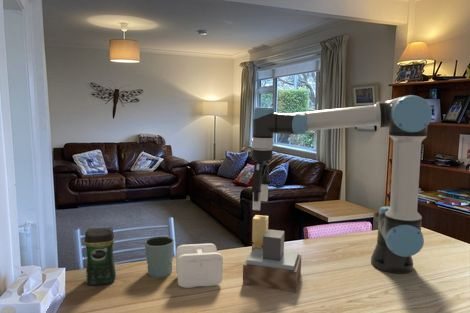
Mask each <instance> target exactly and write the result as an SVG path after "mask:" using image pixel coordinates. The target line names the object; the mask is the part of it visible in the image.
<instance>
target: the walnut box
mask: <svg viewBox="0 0 470 313" xmlns="http://www.w3.org/2000/svg"><path fill="white" fill-rule="evenodd" d="M253 244H254V242H252V244H251V252H252V251H253V249H254V248H253ZM262 247H263V246H262ZM251 252H250V254H251ZM250 254H249V255H247V256H248V257H249V256H250ZM248 257H247V258H246V259H245V261H244V263H243V265H242V285H243V286H252V287H256V288H262V289H264V288H265V289H269V290H270V289H271V290H277V291H286V292H291V293H296V292H297V289H298V286H299V281H300V278H301V277H300V276H301V273H302V272H301V271H302V254H298V259H297V262H296V265H295V268H294V270H287V269H280V268H272V267H265V266H257V265H250V264H247V259H248Z"/></svg>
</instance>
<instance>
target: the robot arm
mask: <svg viewBox="0 0 470 313" xmlns="http://www.w3.org/2000/svg"><path fill="white" fill-rule="evenodd" d="M432 110H433V109H432V107H431V105H430V103H429V102H428V101H427V100H426V99H424V98H423V97H421V96H418V95H416V94H415V95H414V94H409V95H402V96H398V97H396V98H392V99H389V100H382V101H377V102H375V104H370V105H363V106H362V105H360V106H352V107H351V106H349V107H339V108H330V109H320V110H309V111H298V112H276V111H275V108H274V107H271V106H264V107H263V106H255V107H254V109H253V118H252V139H251V140H250V142H251V143H252V150H251V159H252V160H253V161H256V163H255V164H254V169H253V170H254V171H253V177H252V184H251V189H250V192H251V193H252V209H251V210H253V211H261V202H268V200H269V199H268V198H269V186H270V185H271V181H270V167H269V163H270V161H272V160H273V152H274V151H273V150H272V149H273V148H274V134H276V135H277V134H282V135H295V136H299V135H305V134H307V132H309V131H319V130H321V131H322V130H334V129H336V130H337V129H345V128H346V129H347V128H356V127H357V128H358V127H359V128H360V127H369V126H370V127H371V126H376V127H377V128H379V129H381V128H388V136H389V137H390V138H391V140H392V142H393V143H392V165H391V182H390V202H389V205H388V206H381V207H379V210H378V211H379V212H378V223H377V224H378V225H377V226H378V227H377V237H376V239H377V241H376V245H375V247H374V250H373V252H372V254H371V257H370V264H371V265H372V266H373V267H375V268H376V269H378V270H381V271H383V272H387V273H393V274H408V273H410V272H412V271H413V269H414V261H413V257H412V256H415V255H416V254H418V253H419V252H420V251H421V250H422V249H423V247H424V243H425V238H424V235H423V232H422V219H423V217H422V215H421V214H420V212H418V202H419V187H420V186H419V185H420V184H419V183H420V168H421V151H422V142H423V141H424V140H425V139H426V138H427V137H428V125H429V124H430V123H431V121H432V118H433V111H432Z"/></svg>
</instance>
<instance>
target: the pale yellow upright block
mask: <svg viewBox="0 0 470 313" xmlns="http://www.w3.org/2000/svg"><path fill="white" fill-rule="evenodd" d="M268 229H269V215H259V214H255V215H254V216H253V218H252V231H251V233H252V234H251V235H252V236H251V237H252V238H251V240H252V241H251V243H252V245H253V248H257V249H261V248H262V246H263V236H264V235H265V233H266V231H267V230H268ZM253 243H254V244H253Z"/></svg>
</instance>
